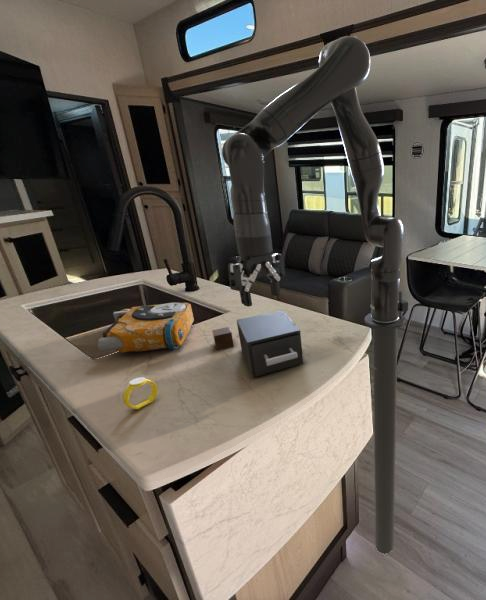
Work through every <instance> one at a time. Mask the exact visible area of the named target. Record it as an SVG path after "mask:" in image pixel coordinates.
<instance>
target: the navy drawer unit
mask: <svg viewBox="0 0 486 600" xmlns="http://www.w3.org/2000/svg"><path fill="white" fill-rule="evenodd" d="M236 326H237V331H238V332H237V333H238V337H239V344H240V350H241V353H242V355H243V357H244V360H245V362H246V364H247V367H248V369H249V372H250V374H251V376H252V378H257V377H261V376H264V375H267V374H270V373H273V372H277V371H281V370H285V369H288V368H291V367H295V366H298V365H302V364H304V356H303V345H302V336H301V330H300V328H299V327H298V326H297V325H296V324H295V322H294V321H293V320H292V319H291V318H290V317H289V316H288V315H287V314H286V313H285V311H284V310H279V311H278V310H277V311H274V312H269V313H264V314H263V313H262V314H259V315H253V316H248V317H242V318H238V319H236ZM296 334H298V335H299V336H300V345H301V355H302V363H300V364H296V365H293V366H289V367H286V368H283V369H279V370H276V371H272V372H269V373H265V374H262V375H258V376H256V375H255V370H254V364H253V358H252V352H251V345H252V344H256V343H260V342H265V341H269V340H273V339H277V338H281V337H285V336H290V335H296Z"/></svg>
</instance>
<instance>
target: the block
mask: <svg viewBox="0 0 486 600" xmlns="http://www.w3.org/2000/svg"><path fill="white" fill-rule="evenodd" d="M211 332H212V336H213V341H214V346H215V349H216V351H220V350H224V349H225V350H226V349H229V348H233V347H235V345H234V344H235V343H234V340H233V333H232V330H231V327H230V326H227V327H222V328H221V327H220V328H217V329H212V331H211Z"/></svg>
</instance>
